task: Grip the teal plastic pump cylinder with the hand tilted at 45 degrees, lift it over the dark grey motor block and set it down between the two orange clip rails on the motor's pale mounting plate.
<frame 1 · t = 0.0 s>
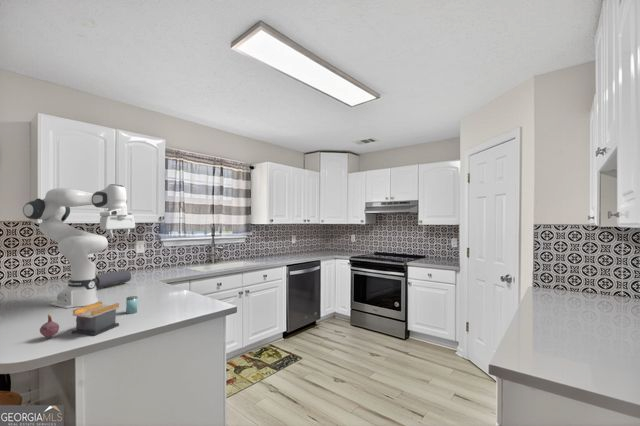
hand: (119, 237, 166), 39 cm above the counter, tool pointing down, fingers open, 8 cm apart
motor block: (96, 329, 134), on the counter
vegetable: (49, 338, 123), on the counter
pump: (131, 312, 157), on the counter
bluetooth speaker: (111, 286, 209), on the counter
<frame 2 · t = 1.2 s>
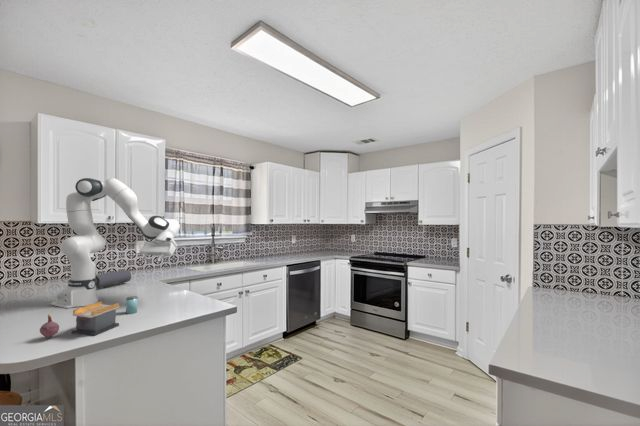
hand: (150, 260, 169), 26 cm above the counter, tool tilted 45°, fingers open, 8 cm apart
nothing on the counter moved.
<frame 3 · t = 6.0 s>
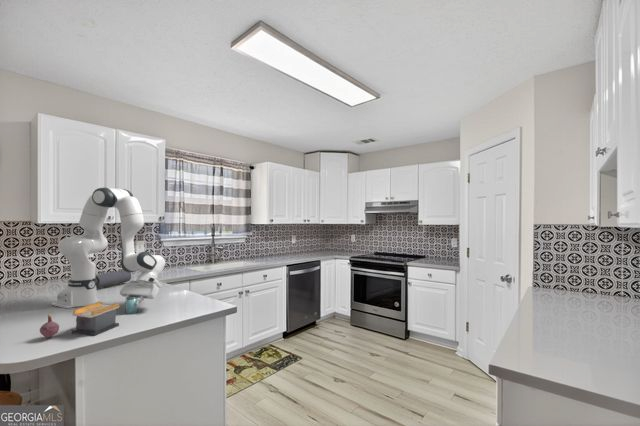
hand: (130, 304, 156), 5 cm above the counter, tool tilted 45°, fingers closed on pump, 5 cm apart
pump: (131, 312, 157), on the counter, touching gripper
everything else where it was.
when the fingers open (15 cm above the counter, at t = 11.7 s): pump drops 1 cm, resting on motor block.
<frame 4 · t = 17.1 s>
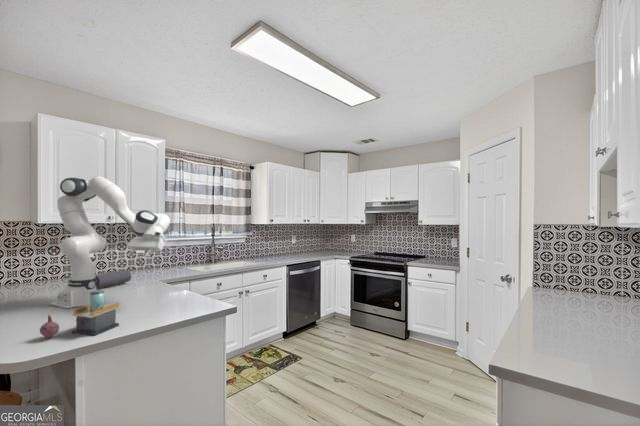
hand: (138, 255, 163), 29 cm above the counter, tool tilted 45°, fingers open, 8 cm apart
pump: (96, 309, 134), point 9 cm above the counter, touching motor block
everything else where it was.
at the end: pump 0.1 cm off-centre on the motor block, point 8.8 cm above the motor block's base; pump tilted 1°; the gripper is holding nothing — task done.
